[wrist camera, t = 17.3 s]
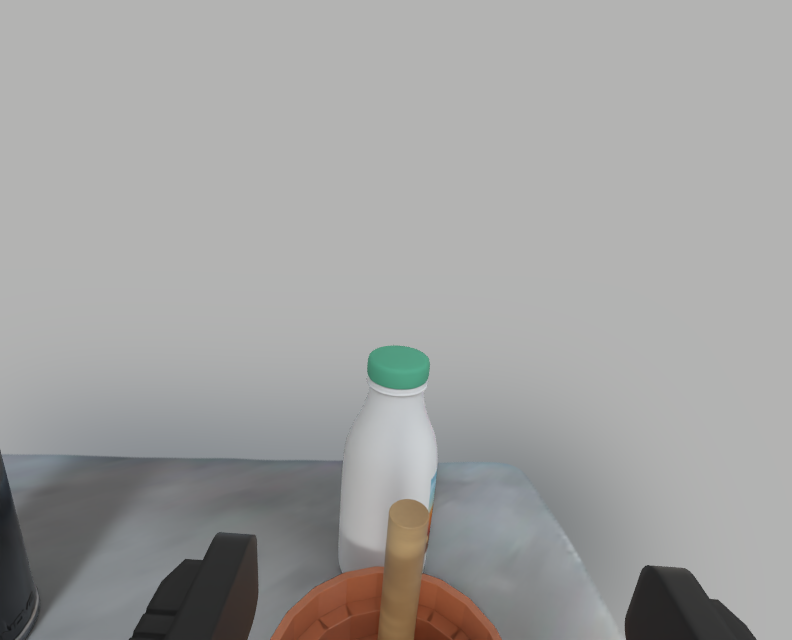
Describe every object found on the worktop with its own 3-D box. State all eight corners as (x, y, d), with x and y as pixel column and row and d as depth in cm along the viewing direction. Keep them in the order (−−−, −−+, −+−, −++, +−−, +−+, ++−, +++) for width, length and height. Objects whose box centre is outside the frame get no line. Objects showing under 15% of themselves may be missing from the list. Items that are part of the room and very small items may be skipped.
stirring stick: (345, 774, 27) (360, 545, 21) (353, 690, 31) (367, 479, 25) (422, 779, 27) (458, 552, 21) (419, 694, 31) (449, 485, 25)
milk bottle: (410, 614, 37) (437, 390, 30) (322, 581, 39) (328, 365, 32) (434, 542, 44) (461, 347, 37) (358, 518, 46) (370, 329, 39)
